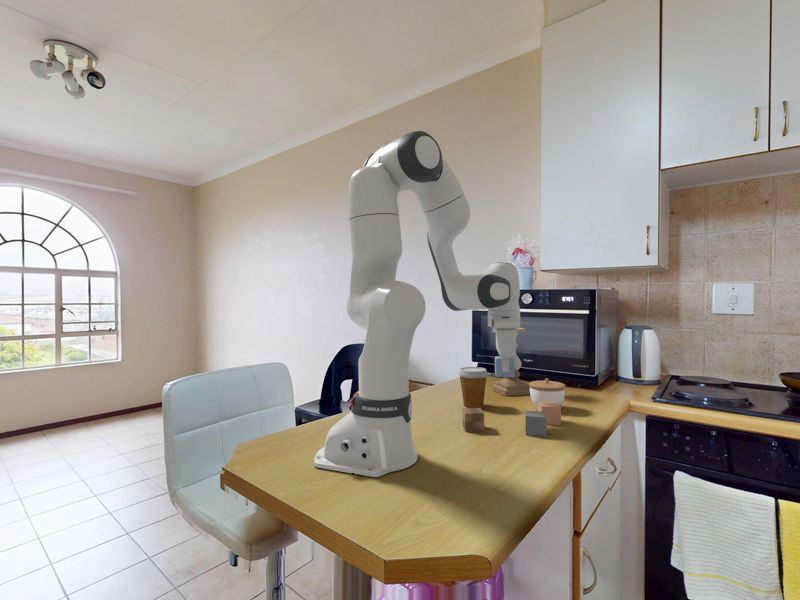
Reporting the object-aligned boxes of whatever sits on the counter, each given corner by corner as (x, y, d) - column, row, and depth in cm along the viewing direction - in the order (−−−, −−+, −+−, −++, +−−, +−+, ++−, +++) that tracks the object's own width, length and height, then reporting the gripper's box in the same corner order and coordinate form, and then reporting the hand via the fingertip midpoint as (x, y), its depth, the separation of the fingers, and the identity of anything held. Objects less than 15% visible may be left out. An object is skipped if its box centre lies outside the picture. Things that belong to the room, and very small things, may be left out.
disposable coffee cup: (478, 400, 133) (478, 365, 133) (494, 408, 124) (493, 370, 124) (453, 403, 130) (453, 367, 130) (467, 411, 121) (466, 372, 121)
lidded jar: (572, 409, 121) (572, 379, 121) (552, 415, 115) (551, 383, 115) (543, 402, 130) (542, 374, 130) (522, 407, 124) (522, 378, 124)
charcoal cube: (525, 435, 99) (525, 416, 99) (525, 429, 104) (525, 410, 104) (546, 437, 97) (546, 417, 97) (545, 431, 102) (545, 412, 102)
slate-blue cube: (495, 376, 108) (495, 358, 108) (495, 373, 113) (494, 356, 113) (514, 377, 107) (514, 359, 107) (512, 373, 112) (512, 356, 112)
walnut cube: (465, 432, 102) (464, 413, 102) (462, 426, 107) (462, 408, 107) (484, 432, 102) (484, 413, 102) (480, 426, 107) (480, 407, 107)
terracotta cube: (542, 424, 107) (541, 406, 107) (537, 419, 112) (537, 402, 112) (561, 425, 107) (560, 406, 107) (555, 419, 112) (555, 402, 112)
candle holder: (505, 396, 138) (504, 329, 139) (491, 389, 149) (490, 327, 149) (533, 394, 141) (532, 328, 141) (517, 387, 152) (516, 326, 152)
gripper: (490, 318, 121) (491, 363, 120) (494, 322, 100) (494, 375, 100) (512, 318, 119) (512, 363, 119) (519, 322, 99) (520, 376, 99)
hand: (504, 369), depth 110 cm, fingers closed on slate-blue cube, 5 cm apart
